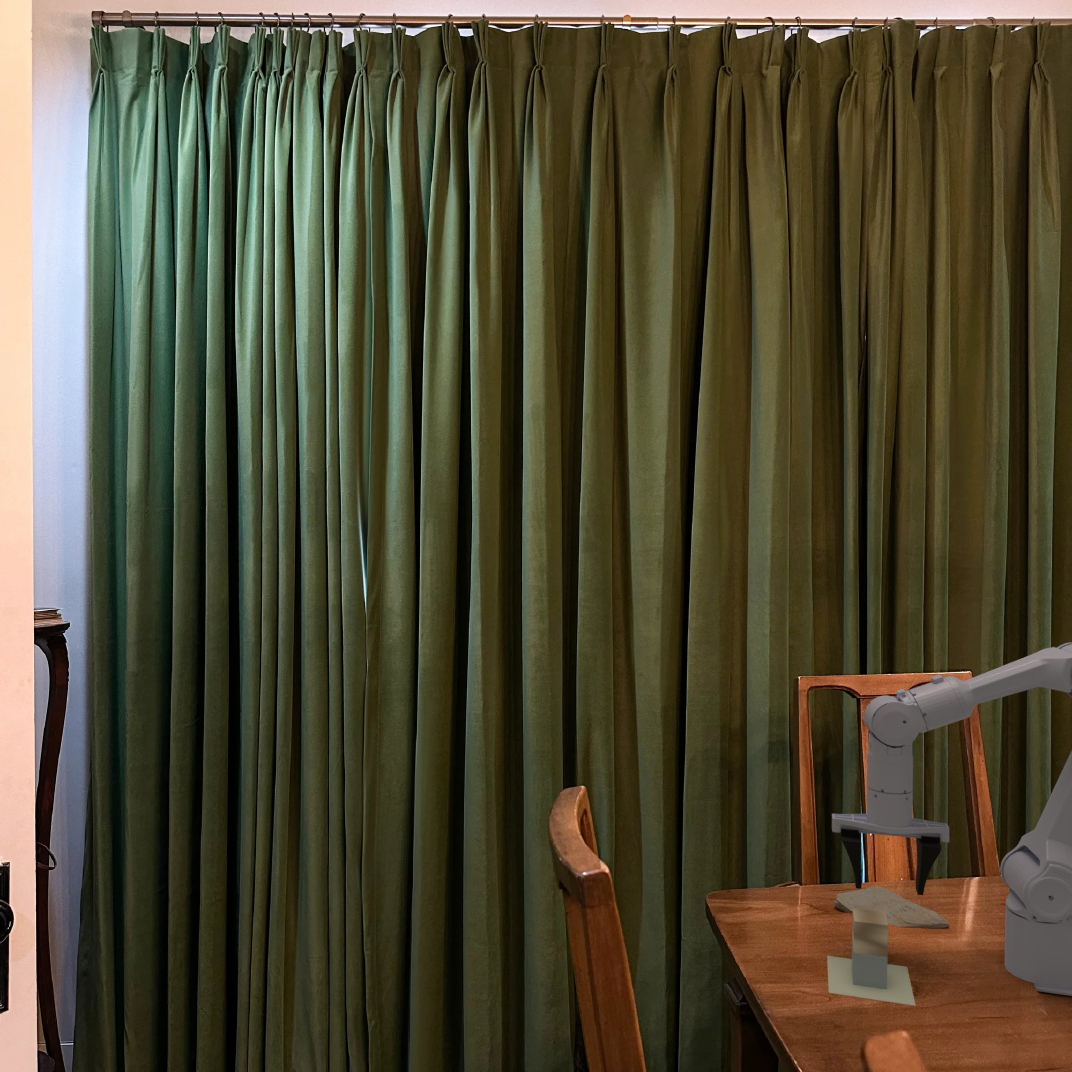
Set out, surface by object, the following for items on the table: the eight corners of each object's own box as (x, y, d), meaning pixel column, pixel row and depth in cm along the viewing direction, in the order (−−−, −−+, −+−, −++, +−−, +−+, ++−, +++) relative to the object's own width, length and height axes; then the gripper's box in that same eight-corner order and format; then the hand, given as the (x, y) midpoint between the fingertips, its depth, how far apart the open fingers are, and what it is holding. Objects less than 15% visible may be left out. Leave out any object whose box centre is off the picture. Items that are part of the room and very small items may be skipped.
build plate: (906, 974, 120) (906, 966, 120) (915, 1013, 110) (915, 1005, 110) (826, 963, 122) (827, 955, 122) (828, 1000, 113) (828, 992, 113)
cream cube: (885, 942, 118) (885, 912, 118) (887, 957, 114) (888, 925, 114) (852, 938, 119) (852, 908, 119) (853, 952, 115) (854, 921, 115)
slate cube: (884, 974, 118) (884, 943, 117) (886, 989, 114) (887, 957, 114) (851, 969, 119) (852, 939, 119) (853, 984, 115) (853, 953, 115)
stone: (952, 938, 131) (953, 920, 131) (896, 950, 127) (897, 932, 127) (877, 897, 145) (878, 881, 145) (824, 907, 141) (825, 890, 141)
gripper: (943, 783, 123) (942, 883, 124) (831, 775, 127) (830, 871, 128) (952, 799, 117) (951, 904, 117) (833, 789, 120) (832, 891, 121)
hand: (888, 889), depth 122 cm, fingers open, 7 cm apart
